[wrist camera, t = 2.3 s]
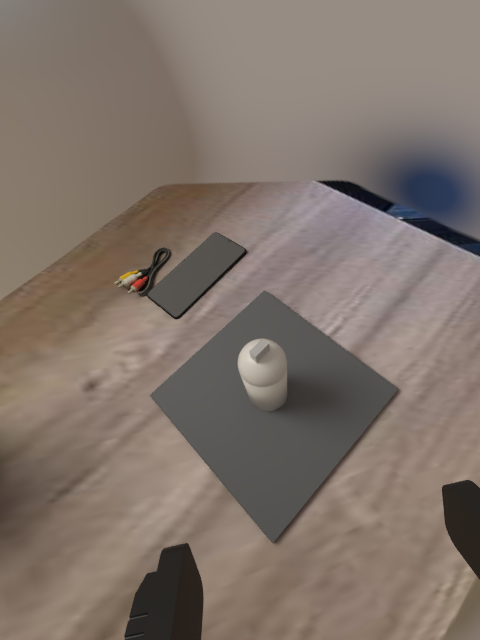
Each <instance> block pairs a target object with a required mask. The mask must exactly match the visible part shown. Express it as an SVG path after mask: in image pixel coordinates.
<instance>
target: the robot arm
mask: <svg viewBox="0 0 480 640" xmlns="http://www.w3.org/2000/svg"><path fill="white" fill-rule="evenodd" d="M442 495H443V506H444V517H445V525H446V529H447V531H448V534H449V536H450V538H451V540H452V542H453V544H454V545H455V547H456V548H457V550H458V551H459V552H460V554H461V555H462V556H463V558H464V559H465V560H466V562H467V563H468V565H469V566H470V567H471V569H472V570H473V571H474V573H475V574H476V575H477V577H478V578H479V579H480V488H479V487H478V486H477V485H476V484H475V483H474V482H472V481H470V480H465V481H460V482H456V483H452V484H447V485H444V486H443V487H442ZM202 616H203V586H202V581H201V577H200V574H199V571H198V569H197V566H196V563H195V560H194V558H193V555H192V552H191V549H190V547H189V545H188V543H185V544H180V545H176V546H172V547H167V548H164V549H163V550H162V552H161V555H160V560H159V564H158V569H157V571H156V572H152V573H148V574H146V576H145V578H144V580H143V582H142V583H141V585H140V587H139V589H138V590H137V592H136V594H135V597H134V601H133V605H132V609H131V613H130V620H129V621H128V624H127V628H126V632H125V640H201V631H202Z"/></svg>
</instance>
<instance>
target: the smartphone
mask: <svg viewBox="0 0 480 640" xmlns="http://www.w3.org/2000/svg"><path fill="white" fill-rule="evenodd" d="M245 254H246V250H245V248H243V247H241V246H240V245H238V244H236V243H235V242H233V241H231V240H229V239H228V238H226V237H224V236H222V235H221V234H219V233H217V232H215V233H213V234H212V235H211V236H210V237H209V238H207V239H206V240H205V241H204V242H203V243H202V244H201V245H200V246H199V247H198V248H196V249H195V250H194V251H193V252H192V253H191V254H190V255H189V256H188V257H187V258H186V259H184V260H183V261H182V262H181V263H180V264H179V265H178V266H177V267H176V268H175V269H173V270H172V271H171V272H170V273H169V274H168V275H167V276H166V277H165V278H164V279H162V280H161V281H160V282H159V283H158V284H157V285H156V286H155V287H154V288H153V289H152V290H150V291H149V292H148V294H147V296H148V298H149V299H150V300H152V301H153V302H154V303H155V304H157V305H158V306H159V307H161V308H162V309H163V310H164V311H165V312H167V313H168V314H169V315H170V316H171V317H173V318H174V319H179V318H180V317H181V316H182V315H183V314H184V313H185V312H186V311H187V310H188V309H189V308H191V307H192V306H193V305H194V304H195V303H196V302H197V301H198V300H199V299H200V298H201V297H202V296H203V295H204V294H205V293H206V292H207V291H208V290H209V289H210V288H211V287H212V286H213V285H214V284H215V283H216V282H217V281H218V280H219V279H220V278H221V277H222V276H223V275H224V274H226V273H227V272H228V271H229V270H230V269H231V268H232V267H233V266H234V265H235V264H236V263H237V262H238V261H239V260H240V259H241V258H242V257H243V256H244V255H245Z"/></svg>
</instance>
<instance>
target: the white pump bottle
mask: <svg viewBox="0 0 480 640" xmlns="http://www.w3.org/2000/svg"><path fill="white" fill-rule="evenodd" d="M238 370H239V373H240V375H241V378H242V380H243V383H244V385H245V388H246V391H247V393H248V396H249V398H250V401H251V402H252V404H253V405H254V406H255V407H256V408H257V409H259V410H261V411H265V412H272V411H275V410H277V409H279V408H280V407H282V406H283V404H284V403H285V401H286V399H287V359H286V355H285V353H284V351H283V349H282V348H281V347H280V346H279V345H278V344H277V343H275V342H274V341H272V340H269V339H256V340H253V341H251V342H249V343H247V344H246V345H245V346H244V347H243V349H242V350H241V352H240V354H239V357H238Z"/></svg>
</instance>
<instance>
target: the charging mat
mask: <svg viewBox="0 0 480 640" xmlns="http://www.w3.org/2000/svg"><path fill="white" fill-rule="evenodd" d="M256 339H269V340H272V341H274V342H275V343H277V344H278V345H279V346H280V347H281V348H282V349H283V351H284V353H285V355H286V359H287V399H286V401H285V403H284V404H283V406H282V407H280V408H279V409H277V410H275V411H272V412H265V411H261V410H259V409H257V408H256V407H255V406H254V405H253V404H252V402H251V401H250V398H249V396H248V393H247V391H246V388H245V385H244V383H243V380H242V378H241V375H240V373H239V370H238V357H239V354H240V352H241V350H242V349H243V347H244V346H245V345H246V344H247V343H249V342H251V341H253V340H256ZM397 390H398V388H396V387H395V386H394V385H392V384H391V383H390V382H388V381H387V380H386V379H384V378H383V377H381V376H380V375H379V374H377V373H376V372H375V371H373V370H372V369H371V368H369V367H368V366H367V365H365V364H364V363H363V362H361V361H360V360H358V359H357V358H356V357H354V356H353V355H352V354H350V353H349V352H348V351H346V350H345V349H344V348H342V347H341V346H339V345H338V344H337V343H335V342H334V341H333V340H331V339H330V338H329V337H327V336H326V335H325V334H323V333H322V332H321V331H319V330H318V329H316V328H315V327H314V326H312V325H311V324H310V323H308V322H307V321H306V320H304V319H303V318H302V317H300V316H299V315H298V314H296V313H295V312H293V311H292V310H291V309H289V308H288V307H287V306H285V305H284V304H283V303H281V302H280V301H279V300H277V299H276V298H275V297H273V296H272V295H270V294H269V293H268V292H266V291H263V292H262V293H261V294H260V295H259V296H258V297H257V298H256V299H255V300H254V301H253V302H251V303H250V304H249V305H248V306H247V307H246V308H245V309H244V310H243V311H242V312H240V313H239V314H238V315H237V316H236V317H235V318H234V319H233V320H232V321H231V322H230V323H228V324H227V325H226V326H225V327H224V328H223V329H222V330H221V331H220V332H219V333H217V334H216V335H215V336H214V337H213V338H212V339H211V340H210V341H209V342H208V343H207V344H205V345H204V346H203V347H202V348H201V349H200V350H199V351H198V352H197V353H196V354H194V355H193V356H192V357H191V358H190V359H189V360H188V361H187V362H186V363H185V364H184V365H182V366H181V367H180V368H179V369H178V370H177V371H176V372H175V373H174V374H173V375H171V376H170V377H169V378H168V379H167V380H166V381H165V382H164V383H163V384H162V385H161V386H159V387H158V388H157V389H156V390H155V391H154V392H153V393H152V394H151V395H150V396H151V398H152V399H153V400H154V401H155V402H156V404H157V405H158V406H159V407H160V408H161V410H162V411H163V412H164V413H165V414H166V416H167V417H168V418H169V419H170V420H171V422H172V423H173V424H174V425H175V426H176V428H177V429H178V430H179V431H180V432H181V434H182V435H183V436H184V437H185V439H186V440H187V441H188V442H189V443H190V445H191V446H192V447H193V448H194V449H195V451H196V452H197V453H198V454H199V455H200V457H201V458H202V459H203V460H204V461H205V463H206V464H207V465H208V466H209V467H210V469H211V470H212V471H213V472H214V473H215V475H216V476H217V477H218V478H219V479H220V481H221V482H222V483H223V484H224V486H225V487H226V488H227V489H228V490H229V492H230V493H231V494H232V495H233V496H234V498H235V499H236V500H237V501H238V502H239V504H240V505H241V506H242V507H243V508H244V510H245V511H246V512H247V513H248V514H249V516H250V517H251V518H252V519H253V520H254V522H255V523H256V524H257V525H258V527H259V528H260V529H261V530H262V531H263V533H264V534H265V535H266V536H267V537H268V539H269V540H270V541H271V542H272V543H273V542H274V541H275V540H276V539H277V538H278V536H279V535H280V534H281V533H282V531H283V530H284V529H285V528H286V526H287V525H288V524H289V523H290V522H291V520H292V519H293V518H294V517H295V515H296V514H297V513H298V512H299V510H300V509H301V508H302V507H303V506H304V504H305V503H306V502H307V501H308V499H309V498H310V497H311V496H312V494H313V493H314V492H315V491H316V490H317V488H318V487H319V486H320V485H321V483H322V482H323V481H324V480H325V478H326V477H327V476H328V475H329V474H330V472H331V471H332V470H333V469H334V467H335V466H336V465H337V464H338V463H339V461H340V460H341V459H342V458H343V456H344V455H345V454H346V453H347V451H348V450H349V449H350V448H351V447H352V445H353V444H354V443H355V442H356V440H357V439H358V438H359V437H360V435H361V434H362V433H363V432H364V431H365V429H366V428H367V427H368V426H369V424H370V423H371V422H372V421H373V419H374V418H375V417H376V416H377V415H378V413H379V412H380V411H381V410H382V408H383V407H384V406H385V405H386V403H387V402H388V401H389V400H390V399H391V397H392V396H393V395H394V394H395V392H396V391H397Z"/></svg>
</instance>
